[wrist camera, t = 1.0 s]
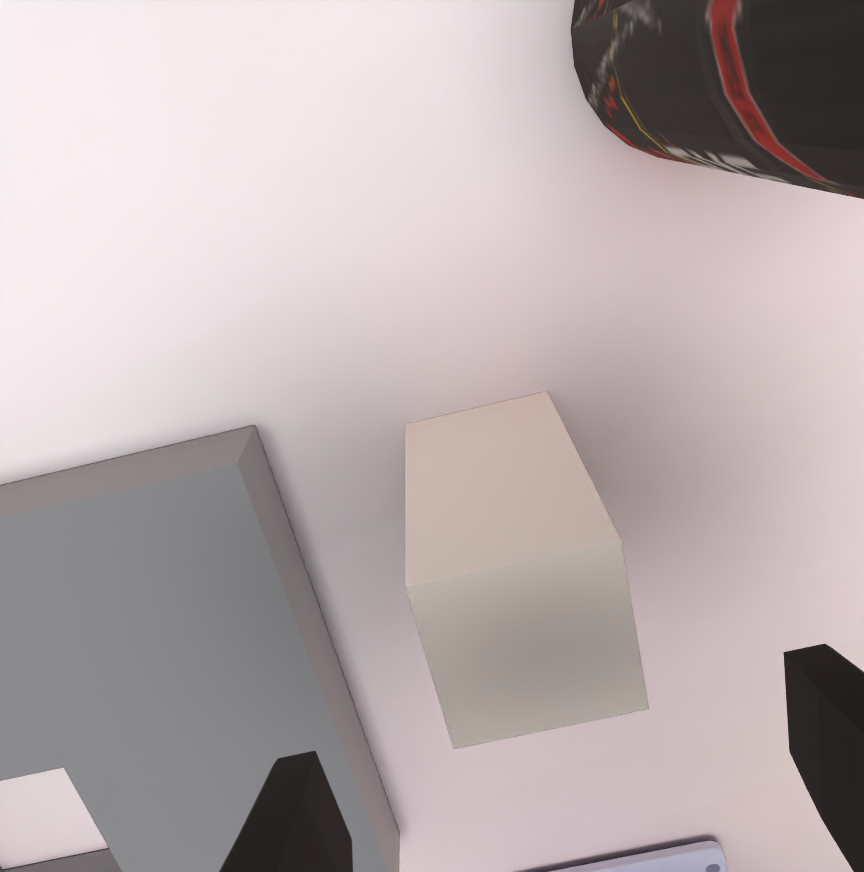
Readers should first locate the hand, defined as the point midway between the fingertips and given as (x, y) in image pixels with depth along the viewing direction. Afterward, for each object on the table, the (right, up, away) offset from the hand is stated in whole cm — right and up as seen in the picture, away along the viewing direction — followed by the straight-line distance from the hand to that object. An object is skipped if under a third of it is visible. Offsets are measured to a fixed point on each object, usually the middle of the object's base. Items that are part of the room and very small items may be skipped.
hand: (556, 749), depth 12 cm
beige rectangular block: (0, +4, +10) cm, 11 cm away
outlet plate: (-13, -4, +13) cm, 19 cm away
